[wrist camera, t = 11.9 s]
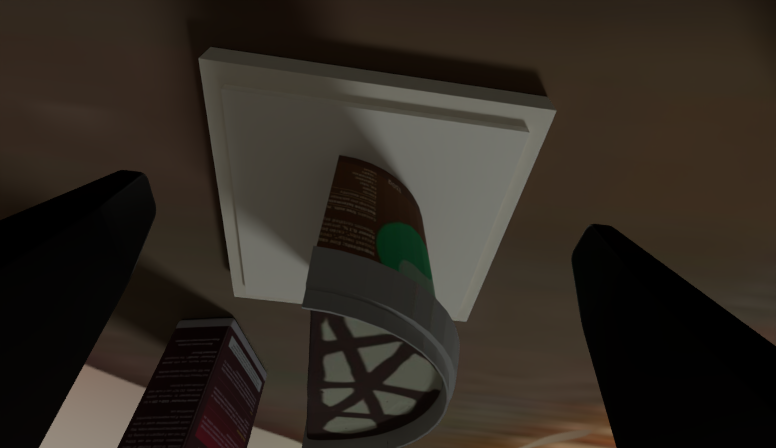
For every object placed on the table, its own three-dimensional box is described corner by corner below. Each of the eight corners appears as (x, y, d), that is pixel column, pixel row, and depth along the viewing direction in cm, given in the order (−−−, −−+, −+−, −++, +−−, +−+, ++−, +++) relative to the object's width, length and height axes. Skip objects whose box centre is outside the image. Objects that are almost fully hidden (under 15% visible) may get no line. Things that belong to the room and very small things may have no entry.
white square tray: (547, 96, 20) (559, 115, 19) (464, 304, 31) (467, 327, 29) (210, 46, 19) (193, 62, 18) (240, 279, 30) (232, 302, 28)
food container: (421, 307, 28) (428, 473, 20) (328, 297, 28) (300, 463, 20) (470, 145, 20) (512, 318, 12) (341, 127, 20) (301, 295, 12)
